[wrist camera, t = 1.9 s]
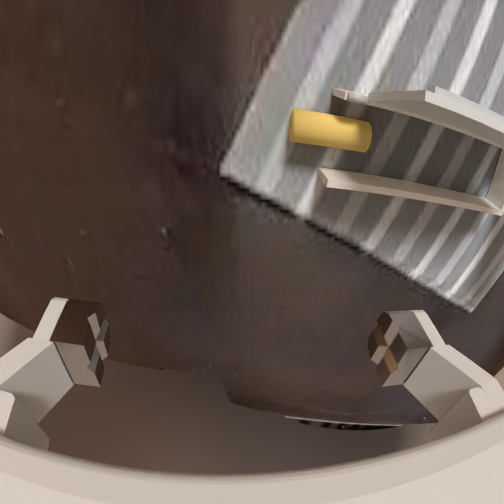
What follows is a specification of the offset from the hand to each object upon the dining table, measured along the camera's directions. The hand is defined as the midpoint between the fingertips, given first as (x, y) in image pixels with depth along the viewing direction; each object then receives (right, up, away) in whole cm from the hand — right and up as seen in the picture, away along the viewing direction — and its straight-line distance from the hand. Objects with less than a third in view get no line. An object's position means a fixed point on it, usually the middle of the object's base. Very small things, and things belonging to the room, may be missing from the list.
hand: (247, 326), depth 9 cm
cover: (+20, +12, +12) cm, 26 cm away
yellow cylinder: (+7, +12, +19) cm, 24 cm away
